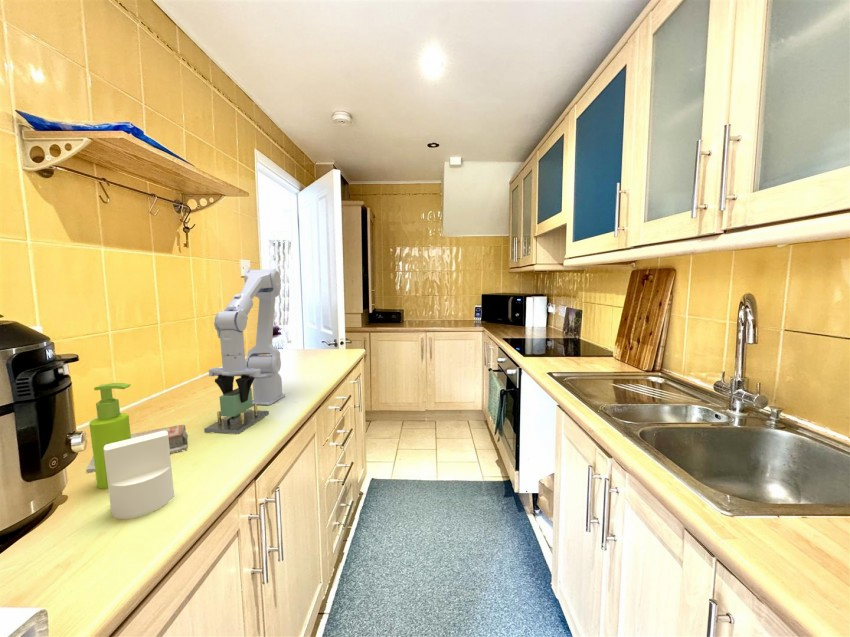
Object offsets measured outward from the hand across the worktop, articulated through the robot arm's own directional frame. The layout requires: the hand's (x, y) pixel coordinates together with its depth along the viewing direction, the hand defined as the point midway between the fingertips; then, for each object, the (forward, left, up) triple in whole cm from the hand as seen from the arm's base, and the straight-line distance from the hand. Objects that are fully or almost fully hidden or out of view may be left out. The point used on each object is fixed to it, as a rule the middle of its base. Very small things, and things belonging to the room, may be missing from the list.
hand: (236, 401), depth 101 cm
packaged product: (+19, -12, -7) cm, 23 cm away
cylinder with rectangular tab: (+36, +7, -7) cm, 37 cm away
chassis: (0, 0, -6) cm, 6 cm away
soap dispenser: (+30, -5, -6) cm, 31 cm away
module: (0, 0, -3) cm, 3 cm away
